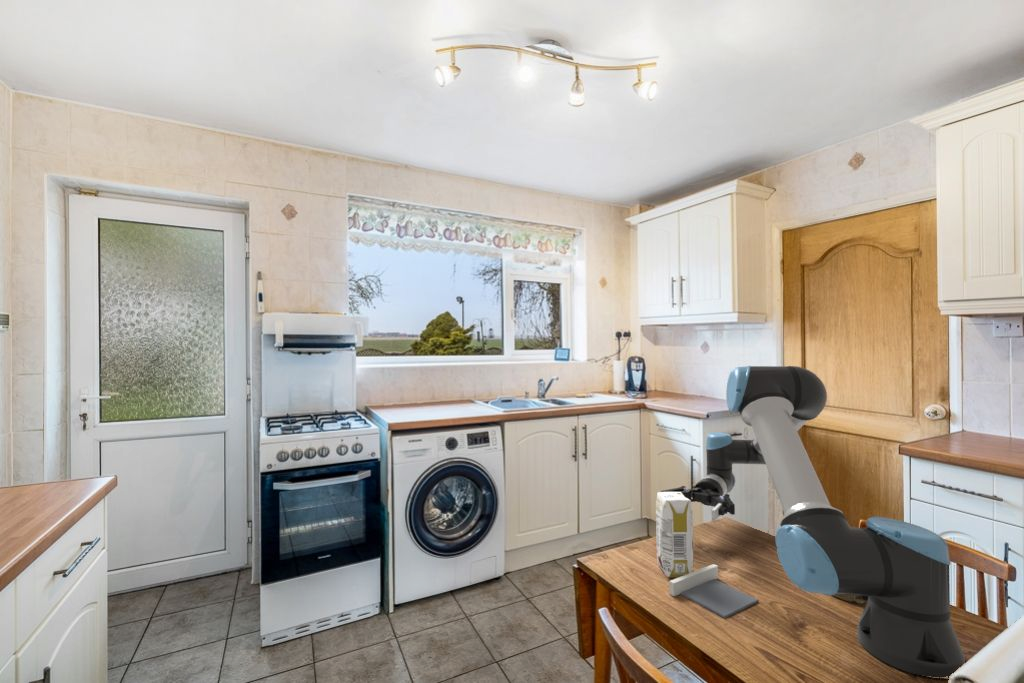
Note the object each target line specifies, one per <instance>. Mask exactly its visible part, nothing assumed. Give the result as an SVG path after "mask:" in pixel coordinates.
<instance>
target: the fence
mask: <svg viewBox="0 0 1024 683" xmlns="http://www.w3.org/2000/svg"><path fill="white" fill-rule="evenodd" d="M713 579H716V580H717V579H719V565H717V564H715V563H712V564H710V565H708V566H704V567H702V568H700V569H697V570H694V571H692V573H689V574H686V575H684V576H681V577H675V578H674V579H671V580H669V584H668V585H669V586H668V587H669V595H671V596H672V597H677V596H678V595H681V593H682V592H684V591H686V590H689V589H691V588H694V587H696V586H699V585H701V584H703V583H706V582H708V581H711V580H713Z"/></svg>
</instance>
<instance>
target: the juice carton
mask: <svg viewBox="0 0 1024 683" xmlns="http://www.w3.org/2000/svg"><path fill="white" fill-rule="evenodd" d="M693 520H694V519H693V506H692V502H691V500H689V499H688V498H686V497H685V496H684V495H683V494H682V493H681V492H661V491H658V492H657V494H656V500H655V524H656V525H655V527H656V528H655V529H656V531H655V532H656V533H655V535H656V536H655V538H656V540H655V542H656V544H655V545H656V547H655V548H656V559H657V564H658V566H659V568H660V569H661V571H663V573H664V575H665V576H666V577H667V578H671V579H672V578H679V577H681V576H684V575H686V574H689V573H692V572H693V569H694V568H693V567H694V537H693V536H694V535H693V534H694V533H693V532H694V530H693V526H694V525H693V524H694V523H693Z"/></svg>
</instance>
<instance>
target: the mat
mask: <svg viewBox="0 0 1024 683" xmlns="http://www.w3.org/2000/svg"><path fill="white" fill-rule="evenodd" d="M680 595H681V596H682V597H684V598H686V599H688V600H690V601H692V602H693V603H695V604H697V605H699V606H700V607H703V608H705V609H706V610H708V611H710V612H713V613H714V614H716V615H718V616H720V618H721V617H722V618H723V619H727V618H729V617H731V616H733V615H734V614H736V613H738V612H741V611H743V610H745V609H747V608H748V607H751V606H753V605H755V604H757V603H759V599H758V598H756V597H753V596H751V595H750V594H747V593H745V592H743V591H741V590H739V589H736V588H734V587H732V586H730V585H728V584H727V583H724V582H722V581H720V580H717V579H713V580H711V581H708V582H706V583H703V584H701V585H699V586H696V587H694V588H691V589H689V590H686V591H684V592H682V593H681V594H680ZM726 617H727V618H726Z"/></svg>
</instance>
